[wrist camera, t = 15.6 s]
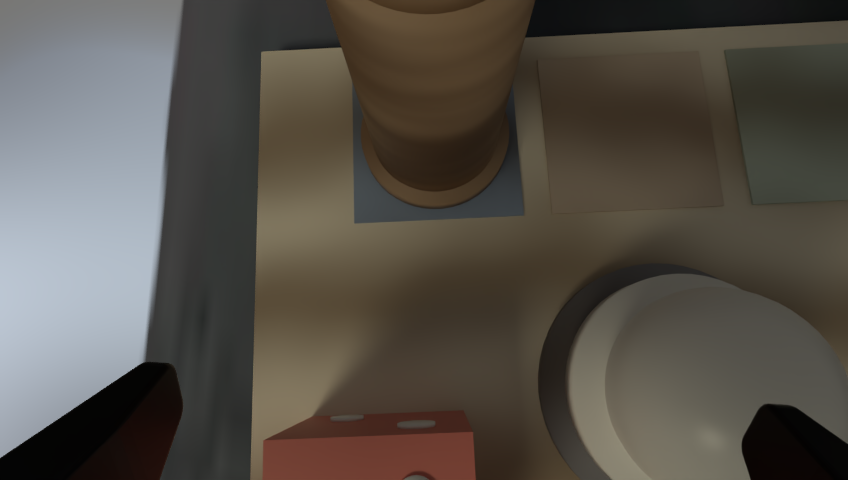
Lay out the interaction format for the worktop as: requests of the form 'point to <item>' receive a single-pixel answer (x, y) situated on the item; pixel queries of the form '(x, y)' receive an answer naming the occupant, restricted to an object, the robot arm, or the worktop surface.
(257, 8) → the worktop surface
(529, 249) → the game board
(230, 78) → the worktop surface
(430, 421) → the die
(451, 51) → the pawn
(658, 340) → the dome
